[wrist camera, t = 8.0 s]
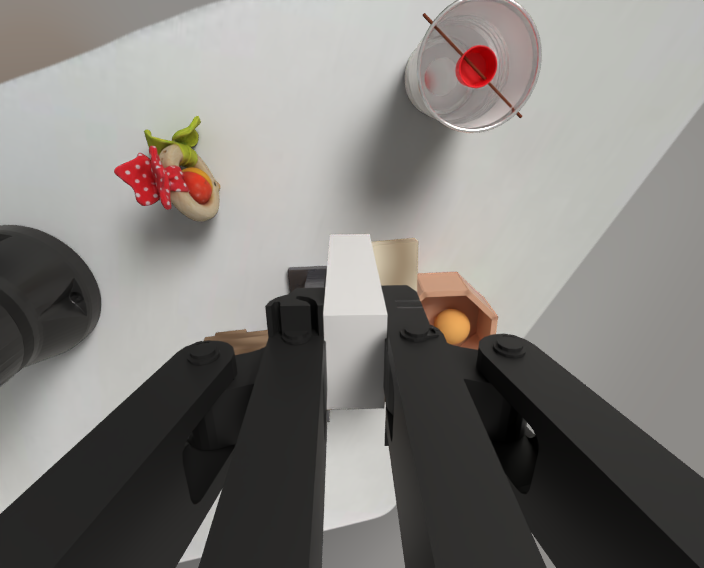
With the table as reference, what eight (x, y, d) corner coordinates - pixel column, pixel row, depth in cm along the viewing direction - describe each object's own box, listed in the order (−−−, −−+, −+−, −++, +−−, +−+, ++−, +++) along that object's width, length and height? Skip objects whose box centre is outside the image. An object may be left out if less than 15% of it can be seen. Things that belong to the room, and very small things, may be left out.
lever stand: (300, 371, 52) (290, 429, 43) (289, 267, 46) (275, 307, 37) (348, 369, 52) (349, 426, 43) (342, 265, 46) (342, 304, 37)
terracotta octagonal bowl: (366, 319, 49) (369, 341, 45) (437, 252, 46) (447, 269, 41) (431, 372, 52) (440, 398, 48) (501, 313, 49) (517, 335, 45)
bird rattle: (243, 167, 44) (183, 90, 38) (246, 230, 36) (170, 147, 30) (195, 195, 45) (129, 125, 39) (188, 262, 38) (103, 188, 31)
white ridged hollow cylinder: (510, 76, 39) (575, 65, 28) (446, 148, 42) (483, 164, 31) (434, -5, 37) (474, -52, 26) (371, 77, 39) (382, 67, 28)
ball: (468, 315, 49) (434, 313, 50) (472, 304, 45) (434, 303, 46) (468, 349, 48) (432, 346, 48) (471, 340, 44) (433, 338, 45)
